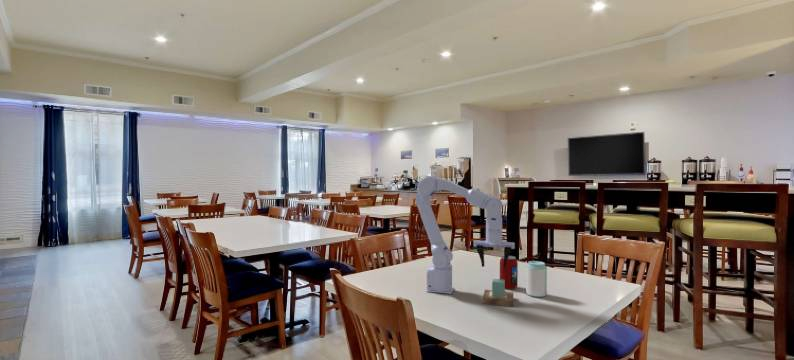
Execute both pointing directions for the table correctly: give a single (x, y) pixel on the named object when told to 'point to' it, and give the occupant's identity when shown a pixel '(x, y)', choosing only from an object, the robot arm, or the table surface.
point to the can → (536, 279)
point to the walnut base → (498, 298)
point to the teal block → (498, 287)
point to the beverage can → (509, 272)
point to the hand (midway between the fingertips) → (493, 266)
